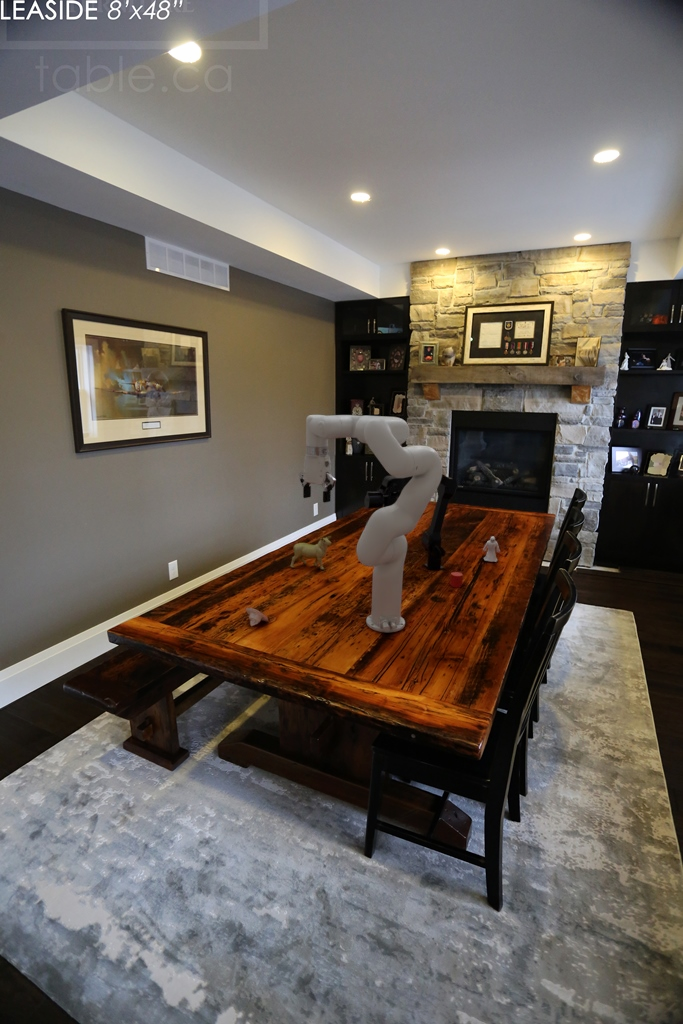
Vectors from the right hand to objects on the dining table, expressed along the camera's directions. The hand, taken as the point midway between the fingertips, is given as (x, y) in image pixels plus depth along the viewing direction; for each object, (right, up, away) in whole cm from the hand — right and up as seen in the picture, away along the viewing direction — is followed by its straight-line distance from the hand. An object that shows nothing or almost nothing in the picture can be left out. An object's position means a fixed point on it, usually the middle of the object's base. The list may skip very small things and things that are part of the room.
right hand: (388, 544), depth 206 cm
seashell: (-47, -23, -45) cm, 69 cm away
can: (+25, -15, -10) cm, 31 cm away
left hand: (-28, +18, -30) cm, 45 cm away
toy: (-32, -11, +5) cm, 34 cm away
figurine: (+48, -9, +19) cm, 52 cm away
